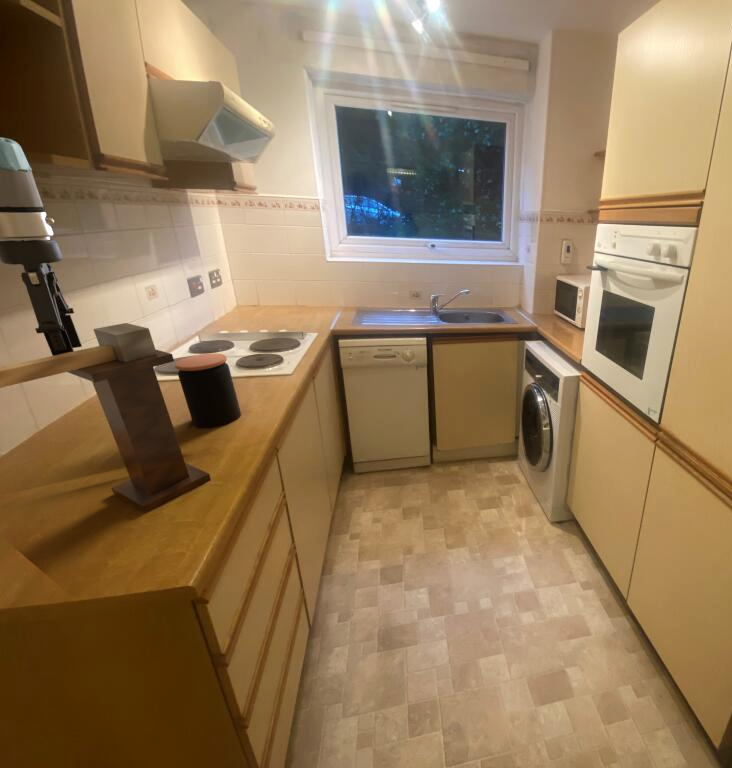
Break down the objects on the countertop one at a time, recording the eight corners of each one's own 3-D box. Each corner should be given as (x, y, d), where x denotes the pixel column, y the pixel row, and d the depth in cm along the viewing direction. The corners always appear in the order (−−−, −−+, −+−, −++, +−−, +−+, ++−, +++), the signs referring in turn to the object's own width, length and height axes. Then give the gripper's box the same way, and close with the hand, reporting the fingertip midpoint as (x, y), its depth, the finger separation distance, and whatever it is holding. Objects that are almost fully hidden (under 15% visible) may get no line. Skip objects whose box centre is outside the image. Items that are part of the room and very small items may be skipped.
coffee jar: (249, 413, 120) (233, 352, 113) (232, 432, 110) (214, 366, 103) (206, 416, 118) (188, 354, 111) (186, 435, 108) (165, 368, 102)
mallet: (-7, 394, 63) (-23, 362, 61) (-26, 384, 66) (-42, 353, 64) (157, 354, 80) (148, 328, 78) (134, 348, 84) (126, 322, 82)
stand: (145, 512, 82) (91, 374, 71) (113, 494, 87) (58, 362, 76) (211, 479, 91) (172, 353, 81) (179, 464, 96) (138, 344, 86)
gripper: (48, 243, 68) (95, 370, 76) (60, 233, 85) (98, 338, 93) (-24, 245, 63) (34, 380, 71) (4, 234, 81) (49, 344, 89)
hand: (70, 356), depth 82 cm, fingers open, 13 cm apart
